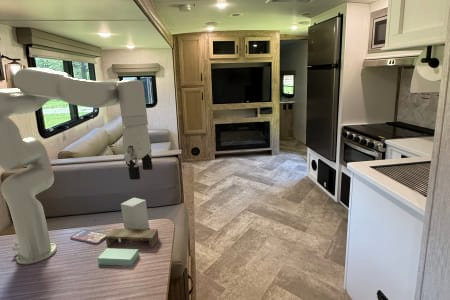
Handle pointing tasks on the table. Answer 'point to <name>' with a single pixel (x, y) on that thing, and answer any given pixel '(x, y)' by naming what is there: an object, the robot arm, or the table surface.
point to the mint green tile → (118, 256)
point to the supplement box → (135, 214)
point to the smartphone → (89, 237)
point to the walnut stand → (133, 235)
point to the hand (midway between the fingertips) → (141, 174)
